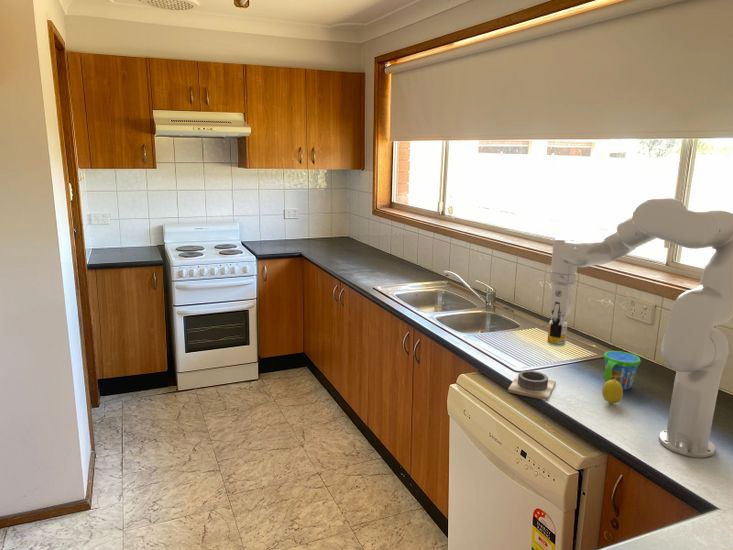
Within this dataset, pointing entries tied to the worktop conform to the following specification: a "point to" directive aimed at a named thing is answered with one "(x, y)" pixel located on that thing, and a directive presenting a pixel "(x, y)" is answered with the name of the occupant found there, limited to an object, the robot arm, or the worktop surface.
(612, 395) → the lemon
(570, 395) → the worktop surface
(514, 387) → the collar board
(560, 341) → the supplement bottle
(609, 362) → the snack cup
